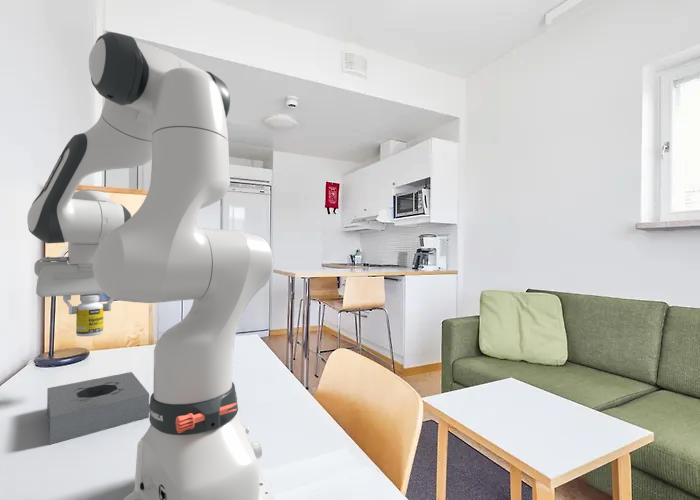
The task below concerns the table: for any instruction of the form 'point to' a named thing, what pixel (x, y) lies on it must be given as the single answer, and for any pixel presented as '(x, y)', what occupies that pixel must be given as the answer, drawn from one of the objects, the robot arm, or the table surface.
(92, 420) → the block
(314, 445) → the table surface
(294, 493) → the table surface
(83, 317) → the supplement bottle
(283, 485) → the table surface
